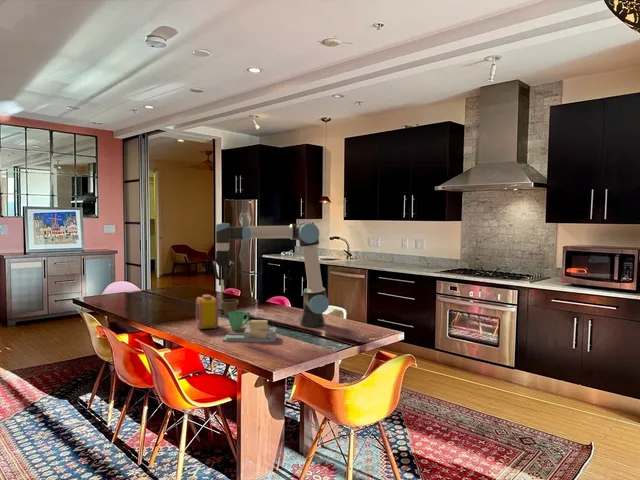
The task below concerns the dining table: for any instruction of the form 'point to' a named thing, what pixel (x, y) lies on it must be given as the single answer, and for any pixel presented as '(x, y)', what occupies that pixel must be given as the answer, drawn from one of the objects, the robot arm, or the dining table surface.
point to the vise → (240, 338)
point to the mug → (237, 319)
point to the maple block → (258, 328)
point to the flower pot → (229, 305)
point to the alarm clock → (206, 312)
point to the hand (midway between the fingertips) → (222, 291)
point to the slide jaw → (247, 333)
